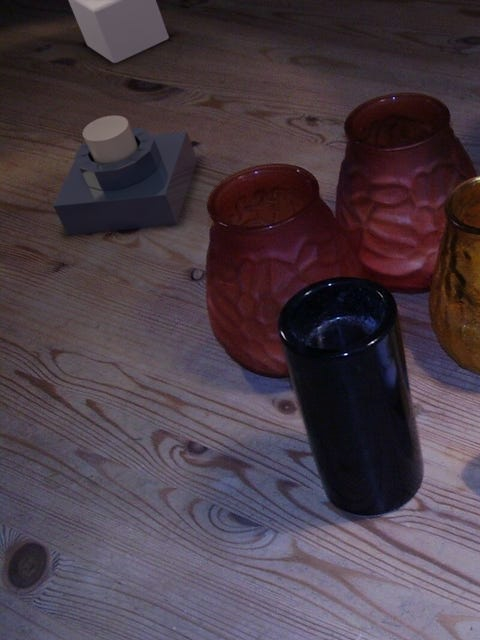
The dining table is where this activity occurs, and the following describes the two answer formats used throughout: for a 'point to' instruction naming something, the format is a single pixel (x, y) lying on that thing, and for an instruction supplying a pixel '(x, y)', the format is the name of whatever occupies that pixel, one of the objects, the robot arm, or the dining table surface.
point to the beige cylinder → (110, 139)
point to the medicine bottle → (119, 26)
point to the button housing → (128, 186)
